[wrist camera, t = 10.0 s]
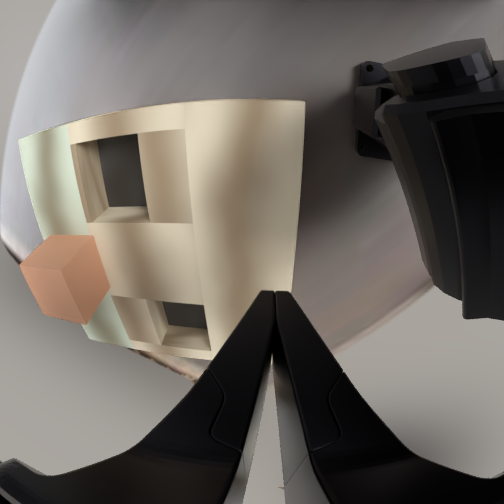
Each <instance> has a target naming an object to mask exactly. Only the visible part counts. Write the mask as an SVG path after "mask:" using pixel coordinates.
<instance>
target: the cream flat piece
mask: <svg viewBox="0 0 504 504" xmlns="http://www.w3.org/2000/svg"><path fill="white" fill-rule="evenodd" d="M304 125H305V102H304V101H301V100H285V99H216V100H199V101H187V102H176V103H167V104H159V105H152V106H145V107H138V108H132V109H127V110H121V111H116V112H111V113H106V114H101V115H97V116H93V117H88V118H84V119H80V120H76V121H73V122H69V123H65V124H62V125H59V126H55V127H52V128H49V129H46V130H43V131H40V132H37V133H34V134H32V135H29V136H27V137H24V138H22V139H20V140H18V142H19V149H20V154H21V160H22V165H23V169H24V174H25V178H26V183H27V187H28V191H29V195H30V198H31V202H32V205H33V209H34V212H35V216H36V219H37V222H38V225H39V228H40V231H41V234H42V237H43V240H44V241H45V240H46V239H47V238H48V237H49V236H50V235H93V236H94V239H95V242H96V246H97V249H98V252H99V255H100V258H101V261H102V264H103V267H104V270H105V273H106V276H107V279H108V281H109V284H110V289H109V290H108V292H107V293H106V295H105V296H104V298H103V299H102V301H101V303H100V304H99V306H98V307H97V309H96V311H95V312H94V314H93V315H92V317H91V319H90V320H89V322H88V324H87V325H84V324H81V325H82V327H83V328H84V330H85V332H86V334H87V336H88V337H89V339H91V340H95V341H99V342H104V343H108V344H113V345H118V346H122V347H127V348H132V349H138V350H143V351H149V352H155V353H161V354H167V355H174V356H181V357H189V358H197V359H206V360H213V358H214V357H215V356H216V354H217V353H218V351H219V350H220V349H221V347H222V346H223V344H224V343H225V341H226V340H227V339H228V337H229V336H230V334H231V333H232V331H233V330H234V328H235V327H236V326H237V324H238V323H239V321H240V320H241V318H242V317H243V315H244V314H245V312H246V311H247V309H248V308H249V307H250V305H251V304H252V302H253V301H254V299H255V298H256V296H257V295H258V293H259V292H260V291H261V290H273V291H274V292H275V291H277V290H278V291H289V292H290V293H291V287H292V278H293V269H294V259H295V249H296V239H297V228H298V217H299V204H300V191H301V177H302V162H303V145H304ZM271 364H272V360H271Z"/></svg>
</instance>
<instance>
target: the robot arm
mask: <svg viewBox="0 0 504 504" xmlns="http://www.w3.org/2000/svg"><path fill="white" fill-rule="evenodd" d="M367 65H369V66H370V67H371V69H372V70H371V72H368V71H367V70H366V66H367ZM353 125H354V126H355V128H356V129H357V134H356V144H355V150H356V152H357V153H358V154H359V155H360V156H364V157H372V158H379V159H386V160H392V161H393V164H394V166H395V169H396V172H397V174H398V177H399V180H400V183H401V186H402V189H403V192H404V195H405V198H406V201H407V204H408V207H409V210H410V214H411V217H412V221H413V224H414V228H415V232H416V235H417V239H418V243H419V247H420V252H421V256H422V260H423V262H424V264H425V266H426V268H427V270H428V272H429V275H430V276H431V277H432V280H433V283H434V285H435V286H437V287H438V288H439V289H440V290H442V291H443V292H444V293H446V294H448V295H450V296H452V297H454V298H456V299H458V300H461V301H462V312H463V313H462V315H463V318H464V319H479V318H491V319H498V320H503V321H504V60H501V61H493V59H492V57H491V54H490V52H489V49H488V47H487V44H486V42H485V40H484V38H479V39H470V40H463V41H456V42H451V43H447V44H443V45H439V46H436V47H432V48H429V49H426V50H422V51H419V52H416V53H413V54H410V55H407V56H404V57H401V58H398V59H395V60H392V61H390V62H387V63H384V64H381V63H376V62H371V61H366V62H363V63H362V64H361V67H360V86H358V87H357V88H356V89H355V101H354V116H353ZM363 145H365V146H366V149H365V151H361V150H360V148H361V146H363ZM271 360H272V366H273V376H274V386H275V395H276V406H277V416H278V426H279V437H280V447H281V458H282V467H283V468H282V469H283V480H284V490H285V502H286V504H504V472H502V473H500V474H498V475H496V476H494V477H492V478H480V477H476V476H472V475H469V474H466V473H463V472H460V471H457V470H454V469H451V468H449V467H446V466H443V465H441V464H438V463H436V462H433V461H431V460H428V459H426V458H423V457H421V456H419V455H417V454H415V453H414V452H412V451H411V450H410V449H408V448H407V447H406V446H405V445H404V444H403V443H402V442H401V441H400V440H399V439H398V438H397V436H396V435H395V434H394V433H393V432H392V431H391V430H390V429H389V428H388V426H387V425H386V424H385V423H384V422H383V421H382V420H381V419H380V417H379V416H378V415H377V414H376V413H375V412H374V411H373V409H372V408H371V407H370V406H369V405H368V404H367V402H366V401H365V400H364V399H363V398H362V396H361V395H360V394H359V392H358V391H357V389H356V388H355V387H354V385H353V384H352V383H351V381H350V380H349V378H348V377H347V375H346V374H345V372H343V369H342V368H341V366H340V365H339V363H338V362H337V361H336V359H335V358H334V356H333V355H332V353H331V352H330V350H329V349H328V347H327V346H326V344H325V343H324V341H323V340H322V338H321V337H320V335H319V334H318V333H317V331H316V330H315V328H314V327H313V325H312V324H311V322H310V321H309V319H308V318H307V316H306V315H305V314H304V312H303V311H302V309H301V308H300V306H299V305H298V303H297V302H296V300H295V299H294V298H293V296H292V295H291V293H290V292H289V291H278V290H277V291H275V292H274V291H273V290H261V291H260V292H259V293H258V295H257V296H256V298H255V299H254V301H253V302H252V304H251V305H250V307H249V308H248V309H247V311H246V312H245V314H244V315H243V317H242V318H241V320H240V321H239V323H238V324H237V326H236V327H235V328H234V330H233V331H232V333H231V334H230V336H229V337H228V339H227V340H226V341H225V343H224V344H223V346H222V347H221V349H220V350H219V351H218V353H217V354H216V356H215V357H214V358H213V360H212V361H211V363H210V364H209V365H208V367H207V369H206V370H205V371H204V372H203V374H202V375H201V376H200V378H199V379H198V381H197V382H196V383H195V384H194V386H193V387H192V388H191V390H190V391H189V392H188V393H187V395H185V397H184V398H183V399H182V400H181V401H180V402H179V403H178V404H177V405H176V407H174V409H173V410H172V411H171V412H170V413H169V414H168V415H167V416H166V417H165V418H164V419H163V420H162V421H161V422H160V423H159V424H158V425H157V426H156V427H155V428H154V429H152V430H151V432H149V433H148V434H147V435H146V436H145V437H144V438H143V439H142V440H141V441H140V442H139V443H137V444H136V445H135V446H133V447H132V448H130V449H129V450H127V451H125V452H123V453H121V454H119V455H116V456H113V457H111V458H108V459H106V460H103V461H100V462H98V463H95V464H92V465H89V466H86V467H83V468H80V469H77V470H74V471H71V472H67V473H64V474H60V475H54V476H47V475H45V474H43V473H41V472H39V471H37V470H36V469H34V468H32V467H30V466H28V465H26V464H25V463H23V462H21V461H19V460H17V459H15V458H13V459H10V460H8V461H5V462H2V461H0V504H242V503H243V498H244V495H245V490H246V485H247V481H248V477H249V472H250V468H251V464H252V459H253V455H254V450H255V445H256V440H257V436H258V431H259V426H260V420H261V416H262V410H263V406H264V400H265V395H266V390H267V384H268V379H269V373H270V368H271ZM342 372H343V373H342Z"/></svg>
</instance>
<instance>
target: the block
mask: <svg viewBox="0 0 504 504" xmlns="http://www.w3.org/2000/svg"><path fill="white" fill-rule="evenodd" d="M19 266H20V268H21V271H22V273H23V275H24V277H25V279H26V281H27V283H28V285H29V287H30V289H31V291H32V293H33V295H34V297H35V299H36V301H37V303H38V305H39V306H40V308H41V310H42V312H43V314H44V315H47V316H51V317H55V318H59V319H63V320H67V321H71V322H75V323H80V324H84V325H87V324H88V322H89V320H90V319H91V317H92V315H93V314H94V312H95V311H96V309H97V307H98V306H99V304H100V303H101V301H102V299H103V298H104V296H105V295H106V293H107V292H108V290H109V289H110V284H109V281H108V279H107V276H106V273H105V270H104V267H103V264H102V261H101V258H100V255H99V252H98V249H97V246H96V242H95V239H94V236H93V235H50V236H49V237H48V238H47V239H46V240H45V241H44V242H42V243H41V244H40V245H39V246H38V247H37V248H36V249H35V250H34V251H33V252H32V253H31V254H30V255H29V256H28V257H27V258H26V259H25V260H24V261H23V262H22V263H21V264H20V265H19Z"/></svg>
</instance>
